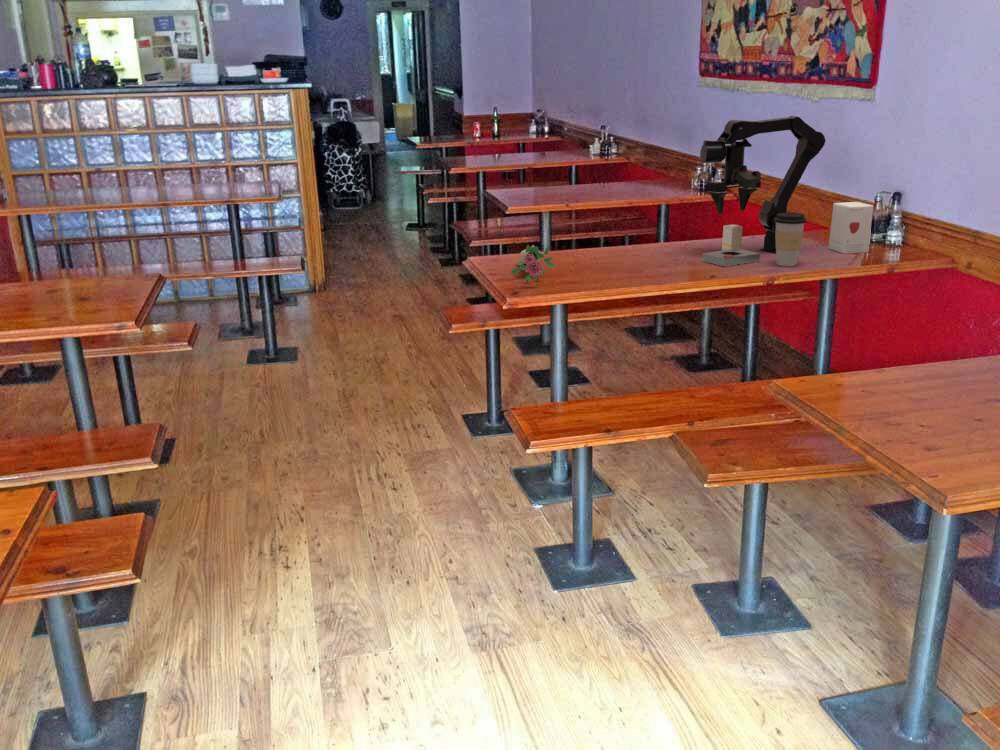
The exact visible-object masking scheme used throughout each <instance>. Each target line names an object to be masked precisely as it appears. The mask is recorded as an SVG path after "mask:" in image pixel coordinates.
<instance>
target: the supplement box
mask: <svg viewBox="0 0 1000 750" xmlns="http://www.w3.org/2000/svg"><path fill="white" fill-rule="evenodd" d="M873 212H874V205H873V204H868V203H865V202H861V201H849V202H848V201H846V202H833V205H832V214H831V224H830V232H829V242H828V249H829V250H831V251H835V252H837V253H840V254H843V255H846V254H862V253H868V252H869V247H870V240H871V239H870V238H871V233H872V232H871V231H872V230H871V229H872V223H873Z"/></svg>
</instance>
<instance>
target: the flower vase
mask: <svg viewBox="0 0 1000 750" xmlns="http://www.w3.org/2000/svg"><path fill="white" fill-rule="evenodd" d="M549 252H550V248H549V246H546V248H545V250H544V252H541V251H540V249H539V246H538V245H537V246H535V245H534V244H532V245H531V246H530V244H527V245H526V247H525V249H523V250H521V251H520V253H519V255H518V259H519V261H517V262H516V263H515V264H516V265H517V266H519V267H515V268H513V269H512V270H511V272H510V274H511V275H514V274H515V275H516V274H518V273H520V270H521V271H525V272H526V273H529V275H525V277H524V281H528V282H530V281H531V279H532V278H533V279H534V280H535V279H540V277H539V276H540V275H543V276H545V267H549V268H554V267H555V265H554V263H553V262H551V260H552V259H553V258H554V257H553V256H548V254H549ZM545 256H548V257H545ZM542 259H543V261H544V262H543V261H542ZM522 263H523V264H522ZM544 263H545V267H544V266H543V264H544ZM524 264H526V265H524ZM531 277H532V278H531ZM524 281H523V282H524Z"/></svg>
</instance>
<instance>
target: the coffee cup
mask: <svg viewBox="0 0 1000 750" xmlns="http://www.w3.org/2000/svg"><path fill="white" fill-rule="evenodd" d="M807 219H808V218H806V217H805V214H804V213H799V212H787V213H778V214H777V216H776V217H775V218H774V222H776V230H775V238H776V254H775V256H776V265H777V264H778V265H777V266H779V265H781V266H780V267H795V265H796V266H797V265H798V259H799V254H800V250H801V246H802V242H803V241H802V240H803V235H804V227H805V224H806V223H807V222H808V221H807Z"/></svg>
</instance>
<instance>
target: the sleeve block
mask: <svg viewBox="0 0 1000 750" xmlns="http://www.w3.org/2000/svg"><path fill="white" fill-rule="evenodd" d="M701 255H702V259H701V261H702V262H703V261H704V262H703V263H707V262H708V263H707V264H711V263H713V264H712V265H714V264H717V265H716V266H718V265H720V266H719V267H722V266H728V267H732V266H731V265H735V266H738V265H737V264H741V265H744V264H743V263H748V264H751V263H750V262H754V263H758V262H757V261H759V262H760V261H761V260H760V258H761V254H760V253H759V252H755V251H751V250H746V249H743V248H741V250H740V251H733V252H729V251H725V250H722V249H721V250H718V251H717V250H716V251H709V252H704V253H703V252H702V254H701Z"/></svg>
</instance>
